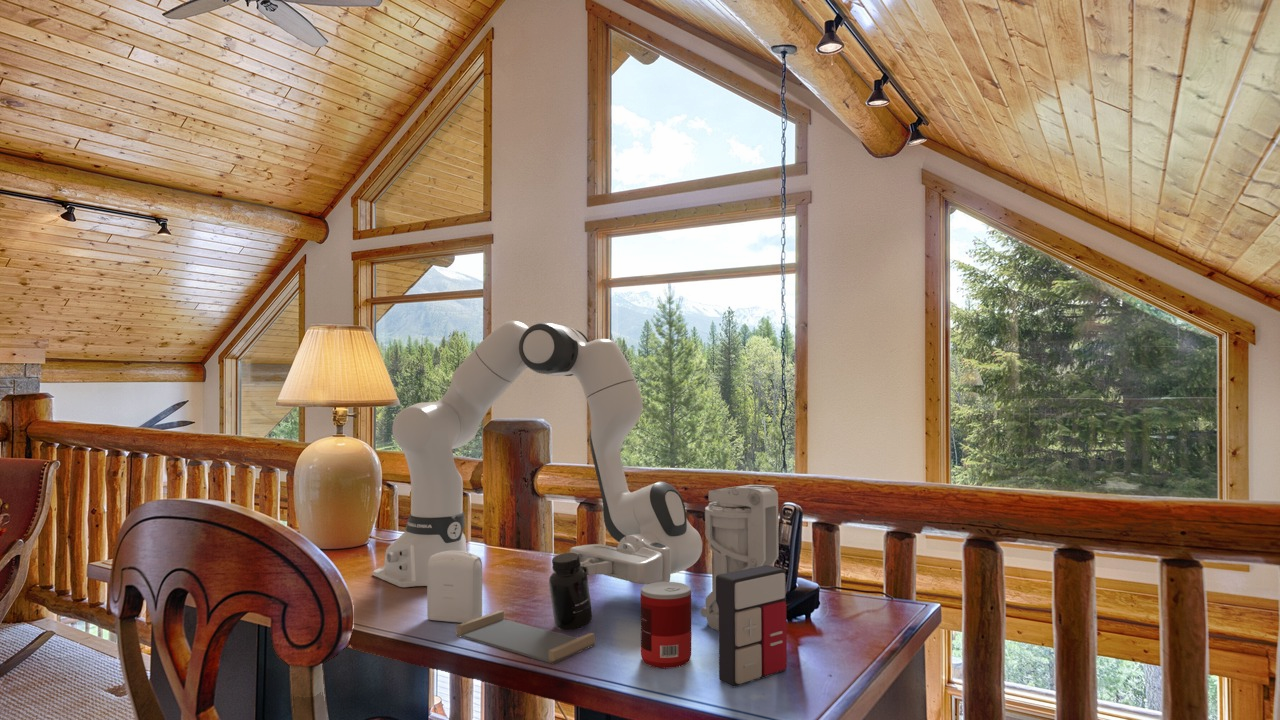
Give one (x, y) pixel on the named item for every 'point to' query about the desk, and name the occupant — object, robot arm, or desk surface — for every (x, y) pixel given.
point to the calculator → (751, 624)
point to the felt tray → (523, 638)
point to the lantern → (739, 534)
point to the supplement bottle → (569, 593)
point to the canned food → (665, 624)
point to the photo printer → (454, 587)
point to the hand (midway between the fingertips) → (582, 569)
